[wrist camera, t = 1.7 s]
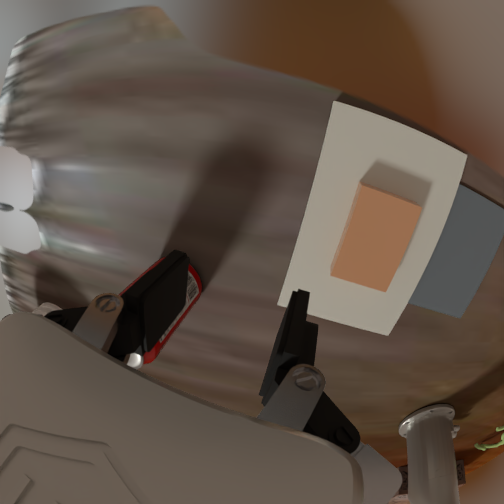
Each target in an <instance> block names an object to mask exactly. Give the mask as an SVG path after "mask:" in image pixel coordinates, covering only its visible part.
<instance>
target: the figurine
mask: <svg viewBox="0 0 504 504" xmlns="http://www.w3.org/2000/svg"><path fill="white" fill-rule="evenodd" d="M501 430H504V426H501V427H497V428H496V431H501ZM501 439H502V440H501V441H500V442H499V443H496V444H489V445H488V444H480V445H479V444H478V443H477V444H475V445H474V446H475V447H476V448H477V449H481V450H483V451H485V450H486V448H493V447H497V446H500V445H503V444H504V433H503V434H502V436H501Z"/></svg>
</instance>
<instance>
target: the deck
mask: <svg viewBox="0 0 504 504" xmlns="http://www.w3.org/2000/svg"><path fill="white" fill-rule="evenodd" d="M466 159H467V155H466V154H464V153H462V152H460V151H458V150H457V149H455V148H453V147H451V146H449V145H447V144H445V143H443V142H441V141H439V140H437V139H435V138H433V137H431V136H428V135H426V134H424V133H422V132H420V131H417V130H415V129H413V128H410V127H408V126H406V125H403V124H401V123H398V122H396V121H393V120H391V119H388V118H385V117H383V116H380V115H377V114H374V113H372V112H369V111H366V110H363V109H360V108H357V107H353V106H350V105H347V104H344V103H340V102H337V101H334V102H333V105H332V110H331V114H330V118H329V122H328V127H327V131H326V135H325V139H324V143H323V147H322V151H321V155H320V159H319V162H318V166H317V170H316V174H315V178H314V181H313V185H312V189H311V193H310V196H309V200H308V203H307V207H306V211H305V214H304V218H303V221H302V225H301V228H300V232H299V235H298V239H297V242H296V245H295V249H294V252H293V255H292V259H291V262H290V265H289V269H288V272H287V275H286V278H285V282H284V285H283V288H282V291H281V294H280V298H279V301H278V304H277V305H280V306H283V307H287V306H288V303H289V300H290V297H291V294H292V291H298V289H301V290H305V291H308V292H310V297H309V304H308V310H307V314H310V315H313V316H317V317H320V318H324V319H327V320H331V321H335V322H338V323H342V324H345V325H349V326H353V327H356V328H360V329H364V330H368V331H372V332H375V333H379V334H383V335H387V336H388V335H389V333H390V332H391V330H392V328H393V327H394V325H395V324H396V322H397V320H398V319H399V317H400V315H401V313H402V312H403V310H404V308H405V306H406V305H407V303H408V301H409V299H410V297H411V296H412V294H413V292H414V290H415V288H416V286H417V284H418V282H419V280H420V278H421V276H422V274H423V272H424V270H425V268H426V266H427V264H428V262H429V260H430V258H431V256H432V253H433V251H434V249H435V247H436V244H437V242H438V240H439V237H440V235H441V233H442V230H443V228H444V225H445V223H446V220H447V217H448V215H449V212H450V209H451V207H452V204H453V201H454V198H455V195H456V192H457V189H458V186H459V183H460V180H461V176H462V173H463V170H464V166H465V162H466ZM359 181H360V182H363V183H366V184H369V185H372V186H374V187H377V188H380V189H383V190H386V191H388V192H391V193H394V194H396V195H399V196H401V197H404V198H407V199H409V200H412V201H414V202H416V203H417V204H419V205H420V206H421V207H422V210H421V213H420V216H419V218H418V221H417V224H416V226H415V229H414V231H413V234H412V236H411V239H410V241H409V243H408V246H407V248H406V250H405V253H404V255H403V257H402V260H401V262H400V264H399V266H398V268H397V270H396V273H395V275H394V277H393V279H392V281H391V283H390V285H389V287H388V289H387V291H386V292H382V291H379V290H376V289H372V288H369V287H366V286H362V285H359V284H356V283H353V282H349V281H346V280H343V279H339V278H336V277H333V276H330V266H331V263H332V260H333V258H334V255H335V252H336V250H337V247H338V244H339V241H340V238H341V235H342V233H343V230H344V227H345V224H346V221H347V218H348V215H349V212H350V209H351V206H352V202H353V199H354V196H355V193H356V190H357V186H358V183H359Z"/></svg>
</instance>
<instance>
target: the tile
mask: <svg viewBox="0 0 504 504" xmlns="http://www.w3.org/2000/svg"><path fill="white" fill-rule="evenodd" d="M421 210H422V207H421V206H420V205H419V204H417V203H416V202H414V201H412V200H409V199H407V198H404V197H401V196H399V195H396V194H394V193H391V192H388V191H386V190H383V189H380V188H377V187H374V186H372V185H369V184H366V183H363V182H360V181H359V183H358V186H357V190H356V193H355V196H354V199H353V202H352V206H351V209H350V212H349V215H348V218H347V221H346V224H345V227H344V230H343V233H342V235H341V238H340V241H339V244H338V247H337V250H336V252H335V255H334V258H333V260H332V263H331V266H330V276H333V277H336V278H339V279H343V280H346V281H349V282H353V283H356V284H359V285H362V286H366V287H369V288H372V289H376V290H379V291H382V292H386V291H387V289H388V287H389V285H390V283H391V281H392V279H393V277H394V275H395V273H396V270H397V268H398V266H399V264H400V262H401V260H402V257H403V255H404V253H405V250H406V248H407V246H408V243H409V241H410V239H411V236H412V234H413V231H414V229H415V226H416V224H417V221H418V218H419V216H420V213H421Z"/></svg>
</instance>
